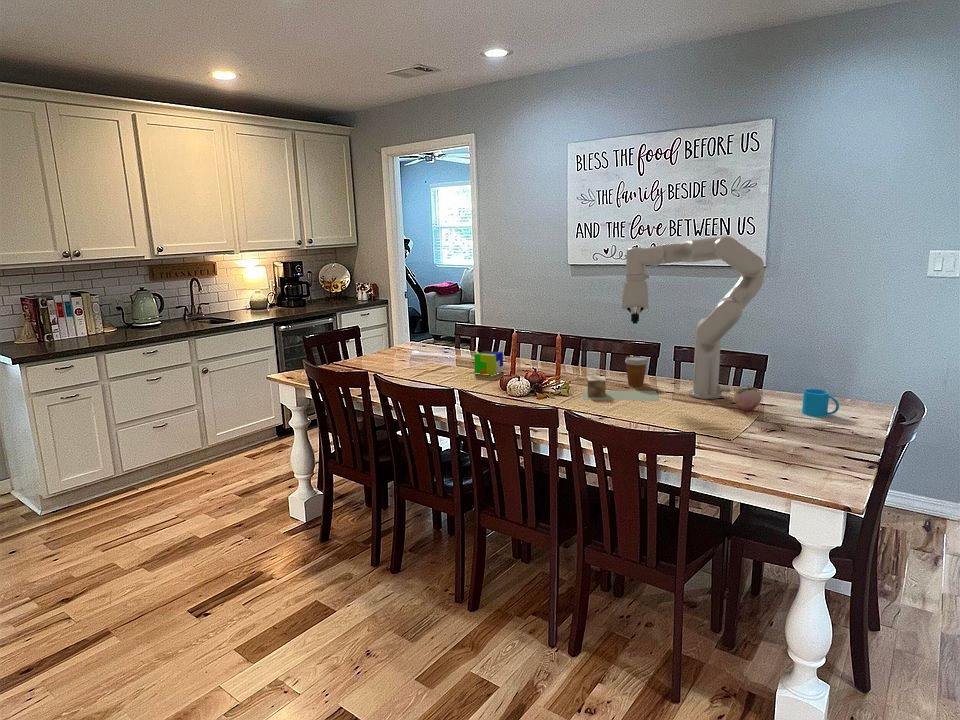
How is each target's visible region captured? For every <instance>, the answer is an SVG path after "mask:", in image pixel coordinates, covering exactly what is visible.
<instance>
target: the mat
mask: <svg viewBox="0 0 960 720" xmlns="http://www.w3.org/2000/svg"><path fill="white" fill-rule="evenodd" d="M587 391H588V389H586V390H582V400H584V401H585V400H586V401H587V400H588V401H589V400H590V401H593V400H595V401H649V402H650V401H651V402H652V401H655V402H657V401H659V402H660V401H661V399H660V397H659V395H658V393H657V391H656V390H606V392H605V397H588V393H587Z"/></svg>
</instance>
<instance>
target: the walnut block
mask: <svg viewBox="0 0 960 720" xmlns="http://www.w3.org/2000/svg"><path fill="white" fill-rule="evenodd" d="M606 380H607V379H606V376H597V375H595V376H592V375H590V376H589V375H587V390H588V391H587V393H588V397H605V392H606V391H607V390H606V388H607V387H606V382H607V381H606Z"/></svg>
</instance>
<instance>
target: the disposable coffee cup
mask: <svg viewBox="0 0 960 720" xmlns="http://www.w3.org/2000/svg"><path fill="white" fill-rule="evenodd" d="M624 362H625V366H626V368H625V369H626V375H627V385H628V386H631V387H642V386H644V381H645V376H646V369H647V365H648V362H649V361H648V360H647V357H644V356H627V357H626V358H625V360H624Z"/></svg>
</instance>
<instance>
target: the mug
mask: <svg viewBox="0 0 960 720" xmlns="http://www.w3.org/2000/svg"><path fill="white" fill-rule="evenodd" d="M829 399H831V400H832V401H833V402H834V404H835V409H834V410H832V411H830V412H828V411H829V402H830V401H829ZM801 407H802V408H801V413H802V414H803V415H804V416H810V417H817V418H818V417H819V418H822V417H826V416H829V415H830V416H831V415H833V414H836V413H837V412H838V411H839V409H840V403H839V402H838V400H837V399H836V398H835V397H833V396H831V395H830V392H829V391H827V390H824V389H818V388H817V389H816V388H808V389H804V390H803V394H802V406H801Z"/></svg>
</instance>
